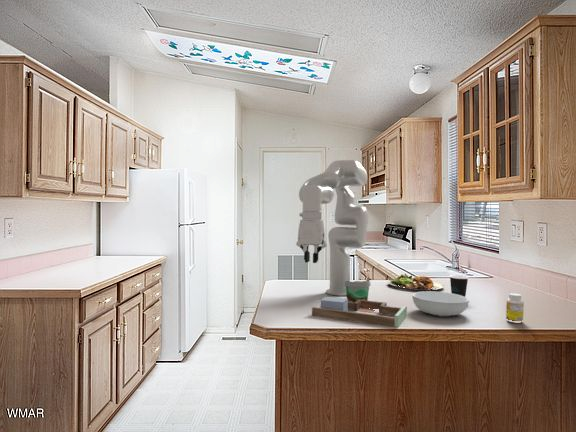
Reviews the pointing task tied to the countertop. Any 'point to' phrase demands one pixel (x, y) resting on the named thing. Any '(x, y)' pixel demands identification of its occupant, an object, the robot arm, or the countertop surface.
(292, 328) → the countertop surface
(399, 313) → the end wall
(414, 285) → the plate of food
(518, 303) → the supplement bottle
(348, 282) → the food container
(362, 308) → the tile
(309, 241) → the robot arm
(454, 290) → the dixie cup
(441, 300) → the serving bowl
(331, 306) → the block
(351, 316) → the channel walls
